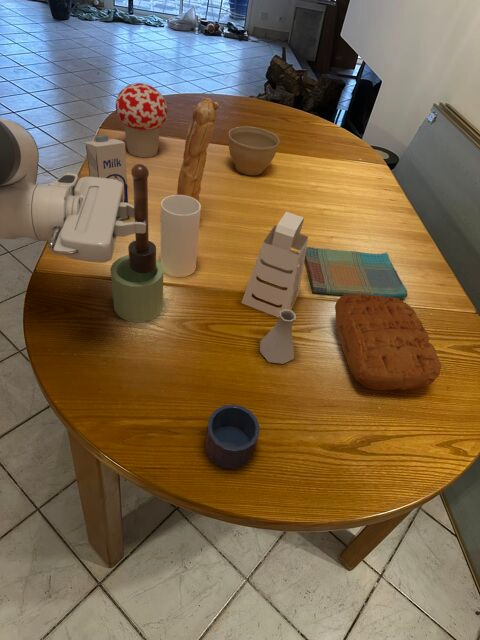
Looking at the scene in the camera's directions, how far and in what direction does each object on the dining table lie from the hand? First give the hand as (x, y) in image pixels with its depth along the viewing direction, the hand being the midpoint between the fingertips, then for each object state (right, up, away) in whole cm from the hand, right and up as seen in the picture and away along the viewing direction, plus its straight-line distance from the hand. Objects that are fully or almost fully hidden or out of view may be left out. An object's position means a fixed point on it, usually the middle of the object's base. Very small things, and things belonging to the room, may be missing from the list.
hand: (146, 220), depth 70 cm
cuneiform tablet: (+44, -24, +16) cm, 52 cm away
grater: (+23, -12, +24) cm, 35 cm away
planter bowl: (+19, +33, +69) cm, 79 cm away
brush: (-2, -7, +6) cm, 9 cm away
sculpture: (+2, +10, +43) cm, 44 cm away
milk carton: (-18, +11, +39) cm, 44 cm away
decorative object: (-16, +39, +68) cm, 80 cm away
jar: (-5, -14, +17) cm, 22 cm away
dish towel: (+44, -6, +35) cm, 56 cm away
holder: (+14, -37, -3) cm, 40 cm away
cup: (+1, -4, +28) cm, 28 cm away
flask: (+23, -23, +13) cm, 35 cm away
